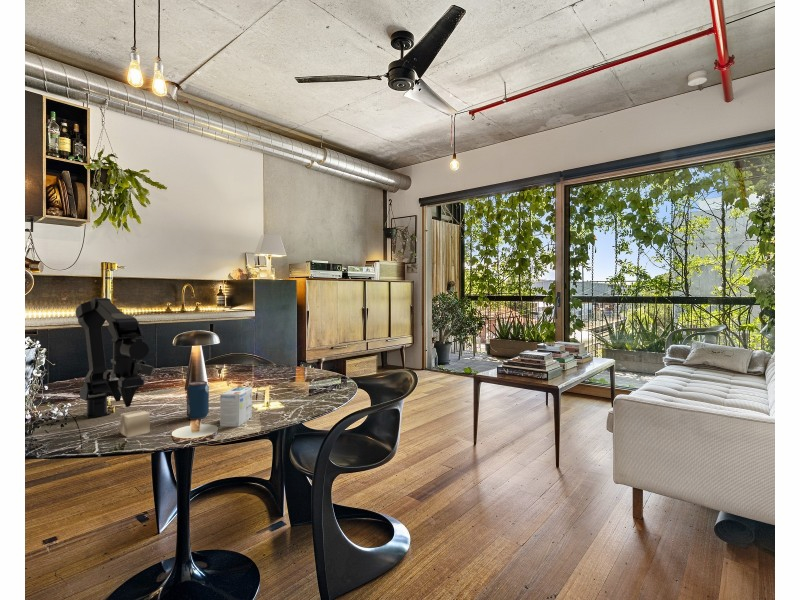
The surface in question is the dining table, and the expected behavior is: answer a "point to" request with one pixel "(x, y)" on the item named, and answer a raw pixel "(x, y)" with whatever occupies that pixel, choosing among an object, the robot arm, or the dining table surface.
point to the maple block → (135, 423)
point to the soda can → (197, 400)
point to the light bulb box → (235, 406)
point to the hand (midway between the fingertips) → (122, 403)
